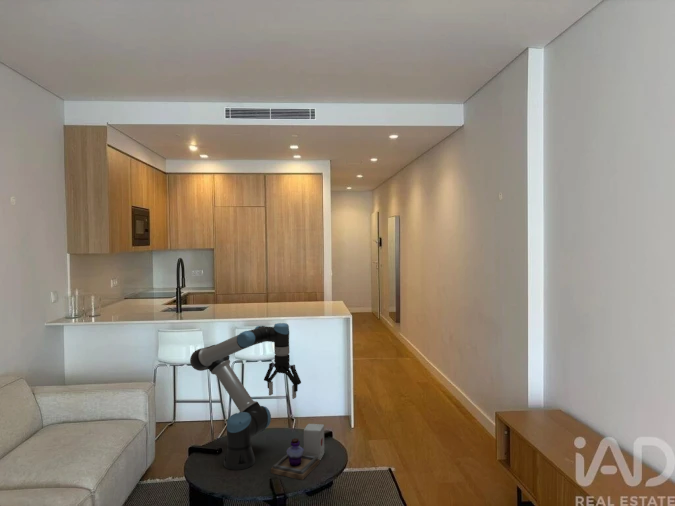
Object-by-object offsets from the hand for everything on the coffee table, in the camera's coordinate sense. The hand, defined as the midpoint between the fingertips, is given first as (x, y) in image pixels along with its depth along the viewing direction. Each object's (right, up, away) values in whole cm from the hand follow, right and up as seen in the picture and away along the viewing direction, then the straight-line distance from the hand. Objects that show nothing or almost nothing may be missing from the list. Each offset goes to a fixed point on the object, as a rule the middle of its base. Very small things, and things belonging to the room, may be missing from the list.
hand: (282, 396), depth 233 cm
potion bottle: (+7, -30, -9) cm, 32 cm away
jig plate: (+8, -32, -9) cm, 34 cm away
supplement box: (+16, -32, +3) cm, 36 cm away
